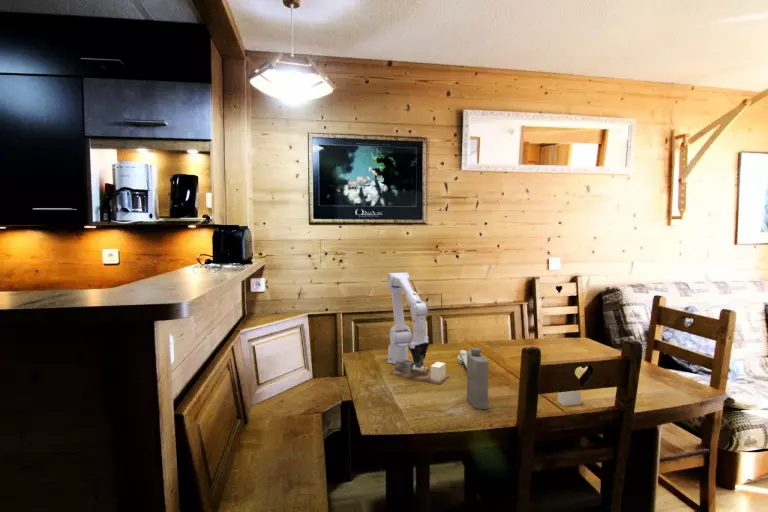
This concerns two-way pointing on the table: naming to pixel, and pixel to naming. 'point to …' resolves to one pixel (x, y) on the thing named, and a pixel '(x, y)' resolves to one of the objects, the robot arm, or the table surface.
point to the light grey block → (569, 398)
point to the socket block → (438, 371)
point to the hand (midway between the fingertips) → (419, 360)
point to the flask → (477, 379)
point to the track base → (413, 372)
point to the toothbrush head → (462, 358)
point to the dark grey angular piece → (420, 366)
